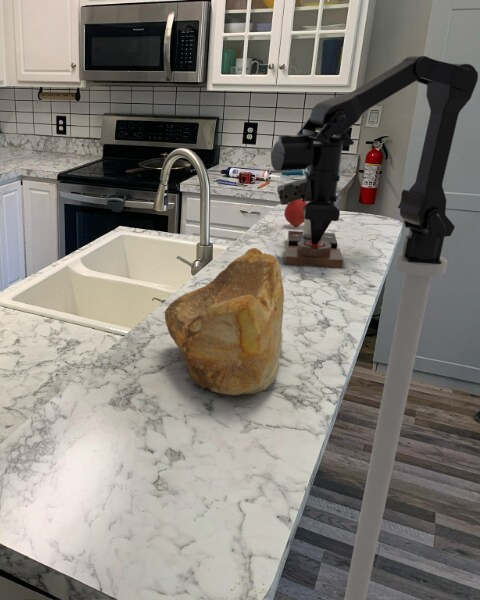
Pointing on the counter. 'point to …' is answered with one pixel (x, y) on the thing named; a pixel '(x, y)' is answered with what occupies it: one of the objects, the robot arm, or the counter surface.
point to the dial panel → (298, 236)
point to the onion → (295, 212)
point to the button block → (313, 255)
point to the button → (314, 244)
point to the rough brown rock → (232, 326)
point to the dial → (307, 229)
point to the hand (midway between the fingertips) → (314, 243)
